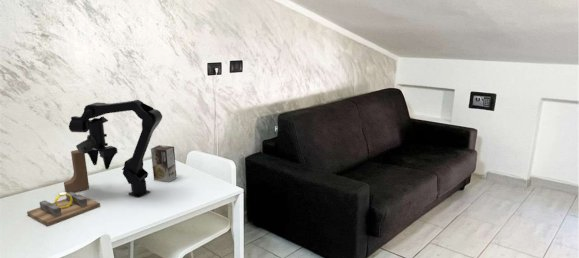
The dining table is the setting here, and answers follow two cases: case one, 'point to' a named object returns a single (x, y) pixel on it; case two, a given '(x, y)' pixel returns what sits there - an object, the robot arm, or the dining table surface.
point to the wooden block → (77, 174)
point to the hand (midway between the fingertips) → (101, 167)
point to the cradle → (55, 214)
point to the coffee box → (163, 163)
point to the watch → (63, 195)
